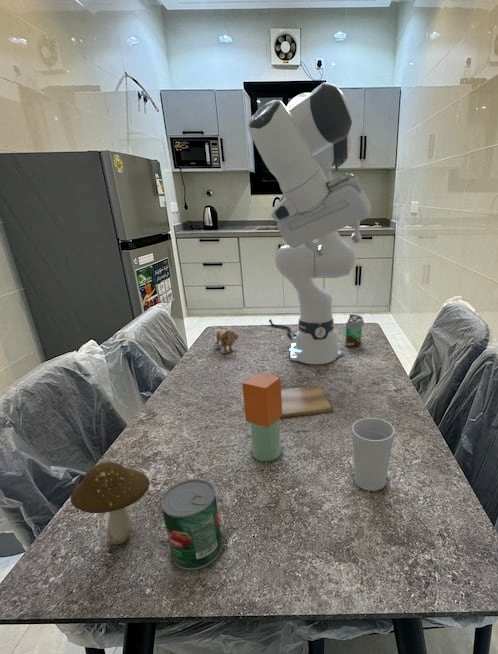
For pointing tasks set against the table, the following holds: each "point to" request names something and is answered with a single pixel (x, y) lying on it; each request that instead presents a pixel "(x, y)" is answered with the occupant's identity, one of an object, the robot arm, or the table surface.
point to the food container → (354, 330)
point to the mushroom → (111, 496)
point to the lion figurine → (226, 339)
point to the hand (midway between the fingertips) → (339, 247)
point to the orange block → (262, 399)
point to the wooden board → (304, 401)
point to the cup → (371, 452)
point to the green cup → (266, 441)
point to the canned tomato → (192, 523)
